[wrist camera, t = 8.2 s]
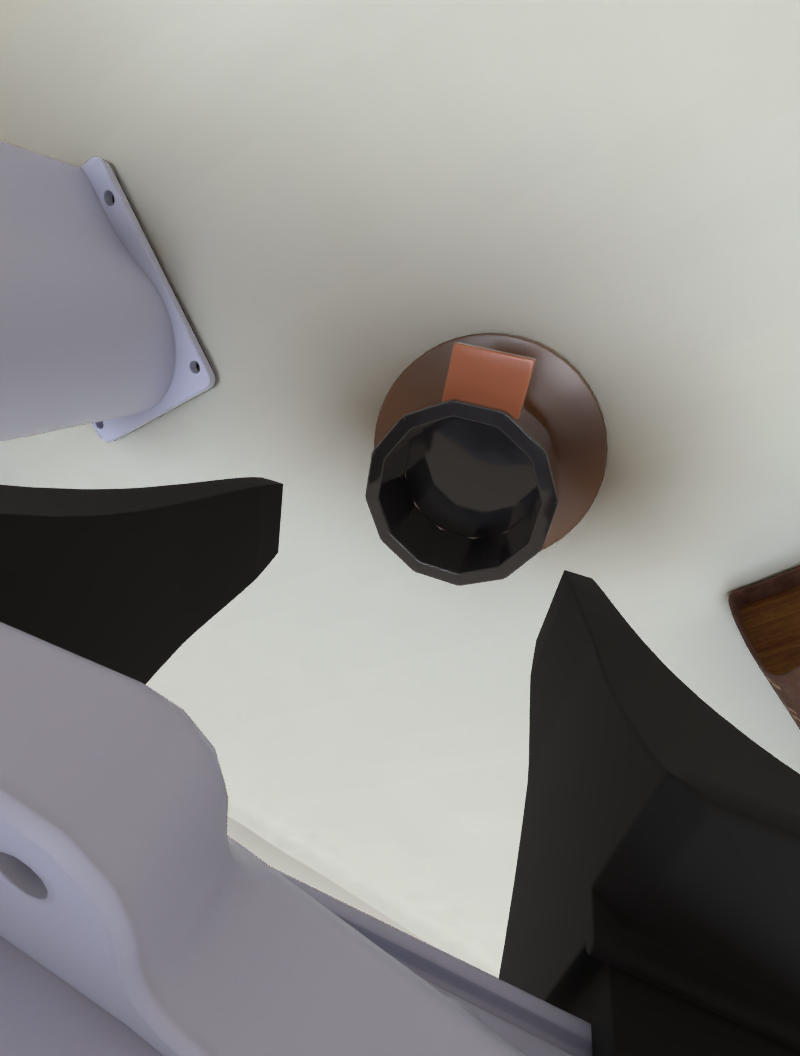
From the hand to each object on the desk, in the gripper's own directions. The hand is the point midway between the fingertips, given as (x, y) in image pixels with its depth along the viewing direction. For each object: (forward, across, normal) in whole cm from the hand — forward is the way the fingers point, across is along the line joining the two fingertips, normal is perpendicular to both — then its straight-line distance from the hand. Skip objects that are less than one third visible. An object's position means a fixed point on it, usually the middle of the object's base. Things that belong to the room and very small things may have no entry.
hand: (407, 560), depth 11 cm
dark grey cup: (+8, 0, -1) cm, 8 cm away
